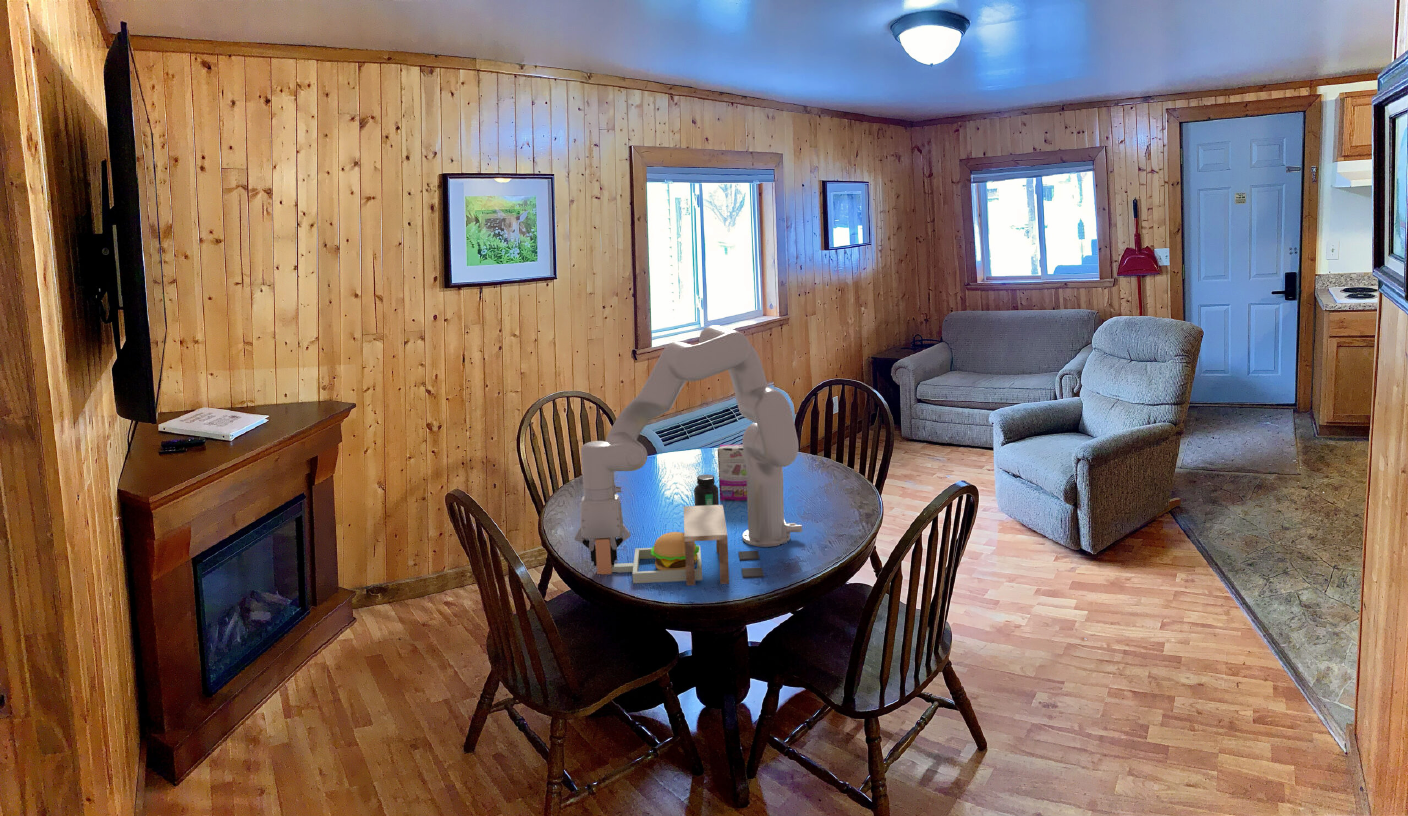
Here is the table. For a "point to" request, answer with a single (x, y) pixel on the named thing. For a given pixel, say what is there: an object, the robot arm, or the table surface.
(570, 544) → the table surface
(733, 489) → the candy bar box
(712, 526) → the tunnel
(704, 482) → the supplement bottle
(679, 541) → the hamburger
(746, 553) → the pit square
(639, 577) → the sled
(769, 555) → the table surface
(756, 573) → the pit square
